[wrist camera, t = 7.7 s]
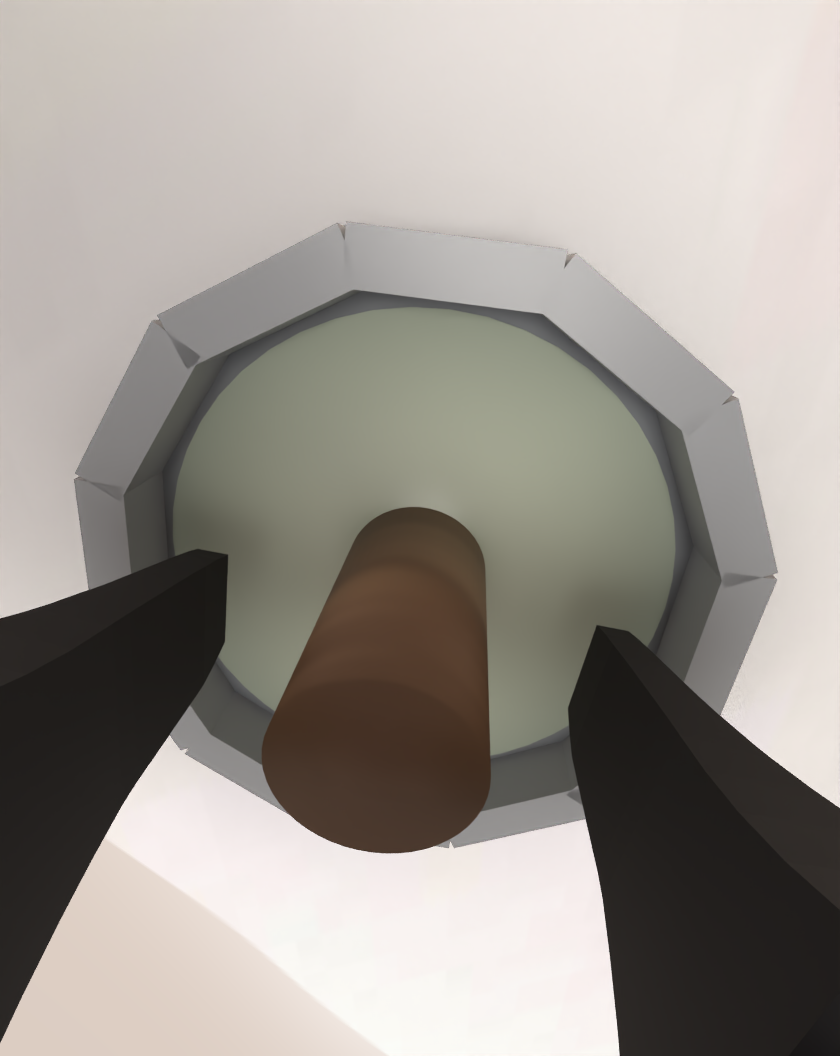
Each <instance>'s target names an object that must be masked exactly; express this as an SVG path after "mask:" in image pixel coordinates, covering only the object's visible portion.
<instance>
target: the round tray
mask: <svg viewBox="0 0 840 1056" xmlns="http://www.w3.org/2000/svg"><path fill="white" fill-rule="evenodd" d="M567 252H568V249H560V248H552V247H544V246H536V245H528V244H520V243H512V242H504V241H496V240H488V239H480V238H473V237H465V236H457V235H449V234H441V233H433V232H425V231H417V230H409V229H401V228H393V227H385V226H377V225H369V224H362V223H354V222H346V226H344V225H341V224H338V223H336V224H334V225H332V226H331V227H329V228H327V229H325V230H323V231H321V232H319V233H317V234H315V235H313V236H311V237H309V238H307V239H305V240H303V241H301V242H299V243H297V244H295V245H293V246H291V247H290V248H288V249H286V250H284V251H282V252H280V253H278V254H276V255H274V256H272V257H270V258H268V259H266V260H264V261H262V262H260V263H258V264H256V265H254V266H252V267H251V268H249V269H247V270H245V271H243V272H241V273H239V274H237V275H235V276H233V277H231V278H229V279H227V280H225V281H223V282H221V283H219V284H217V285H215V286H213V287H211V288H210V289H208V290H206V291H204V292H202V293H200V294H198V295H196V296H194V297H192V298H190V299H188V300H186V301H184V302H182V303H180V304H178V305H176V306H174V307H172V308H170V309H169V310H167V311H165V312H163V313H161V314H159V315H157V316H158V318H159V320H154V321H151V323H150V325H149V327H148V329H147V331H146V333H145V335H144V337H143V339H142V341H141V343H140V345H139V347H138V349H137V351H136V353H135V355H134V357H133V359H132V361H131V363H130V365H129V367H128V369H127V371H126V373H125V375H124V377H123V379H122V381H121V383H120V385H119V387H118V389H117V391H116V393H115V395H114V397H113V399H112V401H111V403H110V405H109V407H108V409H107V411H106V413H105V415H104V417H103V419H102V421H101V423H100V425H99V427H98V429H97V431H96V432H95V434H94V436H93V438H92V440H91V442H90V444H89V446H88V448H87V450H86V452H85V454H84V456H83V458H82V460H81V462H80V464H79V466H78V468H77V470H76V472H75V473H76V474H77V475H79V476H80V477H78V478H76V479H74V483H75V490H76V498H77V505H78V513H79V520H80V528H81V535H82V543H83V550H84V558H85V565H86V573H87V580H88V588H89V590H90V589H93V588H96V587H99V586H101V585H104V584H107V583H109V582H112V581H114V580H117V579H119V578H122V577H124V576H127V575H129V574H132V573H134V572H137V571H139V570H142V569H144V568H147V567H149V566H152V565H154V564H157V563H159V562H162V561H164V560H167V559H169V558H172V557H174V556H177V555H180V554H182V553H185V552H188V551H191V550H195V549H202V550H207V551H212V552H218V553H223V554H228V576H227V604H226V631H225V643H224V645H223V647H222V649H221V651H220V654H219V656H218V658H217V660H216V662H215V664H214V666H213V668H212V670H211V672H210V674H209V675H208V677H207V679H206V681H205V683H204V685H203V687H202V688H201V690H200V691H199V693H198V694H197V696H196V697H195V698H194V700H193V701H192V703H191V704H190V706H189V707H188V709H187V710H186V712H185V713H184V715H183V716H182V718H181V719H180V720H179V722H178V723H177V725H176V726H175V728H174V729H173V730H172V732H171V733H170V736H171V738H172V739H173V740H174V742H175V743H176V744H177V746H178V747H179V748H180V750H183V749H186V748H188V750H187V752H186V753H185V754H186V755H188V756H189V757H191V758H193V759H195V760H196V761H198V762H200V763H201V764H203V765H205V766H207V767H208V768H210V769H212V770H213V771H215V772H217V773H219V774H220V775H222V776H224V777H225V778H227V779H229V780H231V781H232V782H234V783H236V784H237V785H239V786H241V787H243V788H244V789H246V790H248V791H249V792H251V793H253V794H255V795H256V796H258V797H260V798H261V799H263V800H265V801H267V802H268V803H270V804H272V805H273V806H275V807H277V808H279V809H280V810H282V811H284V812H286V810H285V809H284V808H283V807H282V806H281V805H280V804H279V802H278V801H277V799H276V798H275V796H274V795H273V793H272V792H271V790H270V788H269V785H268V783H267V781H266V778H265V775H264V772H263V766H262V744H263V739H264V736H265V733H266V731H267V728H268V726H269V723H270V721H271V719H272V717H273V715H274V713H275V711H276V708H277V706H278V704H279V702H280V700H281V698H282V695H283V693H284V691H285V689H286V687H287V685H288V682H289V680H290V678H291V676H292V674H293V672H294V669H295V667H296V665H297V663H298V661H299V659H300V657H301V654H302V652H303V650H304V648H305V646H306V644H307V641H308V639H309V637H310V635H311V633H312V631H313V628H314V626H315V624H316V622H317V620H318V618H319V615H320V613H321V611H322V609H323V607H324V605H325V603H326V600H327V598H328V596H329V594H330V592H331V590H332V587H333V585H334V583H335V581H336V579H337V577H338V574H339V572H340V570H341V568H342V566H343V564H344V562H345V559H346V557H347V555H348V553H349V551H350V549H351V546H352V544H353V542H354V540H355V538H356V537H357V535H358V534H359V532H360V531H361V530H362V529H363V527H364V526H366V525H367V524H368V523H369V522H370V521H371V520H373V519H374V518H376V517H377V516H379V515H381V514H383V513H385V512H388V511H391V510H394V509H399V508H405V507H422V508H429V509H433V510H437V511H440V512H442V513H445V514H447V515H449V516H451V517H452V518H454V519H456V520H457V521H458V522H460V523H461V524H462V525H464V526H465V527H466V528H467V529H468V530H469V531H470V533H471V534H472V535H473V536H474V538H475V539H476V541H477V543H478V544H479V546H480V549H481V551H482V553H483V557H484V561H485V574H486V611H487V648H488V685H489V722H490V759H491V782H490V790H489V794H488V798H487V800H486V802H485V804H484V807H483V809H482V810H481V812H480V813H479V815H478V816H477V818H476V819H475V820H474V821H473V822H472V823H471V824H470V825H469V826H468V827H467V828H466V829H464V830H463V831H462V832H461V833H459V834H458V835H456V836H455V837H453V838H451V839H450V840H448V841H445V842H443V843H441V844H439V845H436V846H438V847H445V848H449V844H450V841H451V843H452V845H453V847H454V848H457V847H461V846H466V845H470V844H475V843H479V842H484V841H488V840H493V839H497V838H502V837H506V836H511V835H515V834H520V833H525V832H529V831H534V830H538V829H543V828H547V827H552V826H556V825H561V824H565V823H570V822H574V821H579V820H583V819H586V818H585V814H584V809H583V805H582V801H581V796H580V792H579V787H578V783H577V778H576V774H575V769H574V764H573V760H572V753H571V743H570V733H569V719H568V706H569V703H570V700H571V697H572V694H573V692H574V689H575V686H576V683H577V680H578V677H579V674H580V672H581V669H582V666H583V663H584V660H585V657H586V654H587V651H588V649H589V646H590V643H591V640H592V637H593V634H594V631H595V629H596V626H597V625H600V626H605V627H610V628H615V629H621V630H626V631H629V632H630V633H632V634H633V635H634V636H635V637H636V638H638V639H639V640H640V641H641V642H642V643H643V644H644V645H645V646H646V647H648V648H649V649H650V650H651V651H652V652H653V653H654V654H655V655H656V656H657V657H658V658H659V659H660V660H661V661H662V662H663V663H664V664H665V665H666V666H667V667H669V668H670V669H671V670H672V671H673V672H674V673H675V674H676V675H677V676H678V677H679V678H680V679H681V680H682V681H683V682H684V683H685V684H686V685H687V686H688V687H689V688H691V689H692V690H693V691H694V692H695V693H696V694H697V695H698V696H699V697H700V698H701V699H702V700H703V701H704V702H706V703H707V704H708V705H709V706H710V707H711V708H712V709H713V710H714V711H715V712H717V713H718V714H719V715H721V712H722V710H723V708H724V705H725V703H726V700H727V698H728V696H729V693H730V691H731V688H732V686H733V684H734V681H735V679H736V677H737V674H738V672H739V669H740V667H741V665H742V662H743V660H744V657H745V655H746V653H747V650H748V648H749V646H750V643H751V641H752V638H753V636H754V634H755V631H756V629H757V626H758V624H759V622H760V619H761V617H762V615H763V612H764V610H765V607H766V605H767V603H768V600H769V598H770V596H771V593H772V591H773V588H774V586H775V584H776V581H777V579H776V578H775V577H774V576H773V575H772V574H776V573H778V571H777V567H776V562H775V558H774V553H773V549H772V545H771V540H770V536H769V531H768V527H767V522H766V518H765V514H764V509H763V505H762V500H761V496H760V491H759V487H758V483H757V478H756V474H755V469H754V465H753V460H752V456H751V452H750V447H749V443H748V438H747V434H746V430H745V425H744V421H743V416H742V412H741V407H740V403H739V399H738V398H736V397H734V396H732V394H733V393H734V391H733V390H732V389H731V388H729V387H728V386H727V385H726V384H725V383H724V382H723V381H721V380H720V379H719V378H718V377H717V376H716V375H715V374H713V373H712V372H711V371H710V370H709V369H708V368H707V367H705V366H704V365H703V364H702V363H701V362H700V361H699V360H697V359H696V358H695V357H694V356H693V355H692V354H691V353H690V352H688V351H687V350H686V349H685V348H684V347H683V346H682V345H680V344H679V343H678V342H677V341H676V340H675V339H674V338H672V337H671V336H670V335H669V334H668V333H667V332H666V331H664V330H663V329H662V328H661V327H660V326H659V325H658V324H656V323H655V322H654V321H653V320H652V319H651V318H650V317H648V316H647V315H646V314H645V313H644V312H643V311H642V310H640V309H639V308H638V307H637V306H636V305H635V304H634V303H632V302H631V301H630V300H629V299H628V298H627V297H626V296H624V295H623V294H622V293H621V292H620V291H619V290H618V289H616V288H615V287H614V286H613V285H612V284H611V283H610V282H608V281H607V280H606V279H605V278H604V277H603V276H602V275H600V274H599V273H598V272H597V271H596V270H595V269H594V268H592V267H591V266H590V265H589V264H588V263H587V262H586V261H584V260H583V259H582V258H581V257H580V256H579V255H578V254H576V253H575V254H570V255H567ZM286 813H287V812H286ZM287 814H288V813H287ZM289 815H290V814H289Z"/></svg>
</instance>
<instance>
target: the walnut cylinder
mask: <svg viewBox="0 0 840 1056" xmlns="http://www.w3.org/2000/svg"><path fill="white" fill-rule="evenodd" d="M262 766H263V772H264V775H265V778H266V781H267V783H268V785H269V788H270V790H271V792H272V793H273V795H274V796H275V798H276V799H277V801H278V802H279V804H280V805H281V806H282V807H283V808H284V809H285V810H286V812H287V813H288V814H290V815H291V816H292V817H293V818H294V819H295V820H296V821H297V822H299V823H300V824H301V825H303V826H304V827H305V828H307V829H308V830H310V831H312V832H313V833H315V834H317V835H318V836H321V837H323V838H325V839H327V840H329V841H331V842H334V843H337V844H339V845H342V846H345V847H349V848H353V849H356V850H362V851H367V852H375V853H405V852H413V851H418V850H423V849H427V848H430V847H433V846H436V845H439V844H441V843H443V842H445V841H448V840H450V839H451V838H453V837H455V836H456V835H458V834H459V833H461V832H462V831H463V830H464V829H466V828H467V827H468V826H469V825H470V824H471V823H472V822H473V821H474V820H475V819H476V818H477V816H478V815H479V813H480V812H481V810H482V809H483V807H484V804H485V802H486V800H487V798H488V794H489V790H490V782H491V759H490V722H489V685H488V648H487V611H486V574H485V561H484V557H483V553H482V551H481V549H480V546H479V544H478V543H477V541H476V539H475V538H474V536H473V535H472V534H471V533H470V531H469V530H468V529H467V528H466V527H465V526H464V525H462V524H461V523H460V522H458V521H457V520H456V519H454V518H452V517H451V516H449V515H447V514H445V513H442V512H440V511H437V510H433V509H429V508H422V507H405V508H399V509H394V510H391V511H388V512H385V513H383V514H381V515H379V516H377V517H376V518H374V519H373V520H371V521H370V522H369V523H368V524H367V525H366V526H364V527H363V529H362V530H361V531H360V532H359V534H358V535H357V537H356V538H355V540H354V542H353V544H352V546H351V549H350V551H349V553H348V555H347V557H346V559H345V562H344V564H343V566H342V568H341V570H340V572H339V574H338V577H337V579H336V581H335V583H334V585H333V587H332V590H331V592H330V594H329V596H328V598H327V600H326V603H325V605H324V607H323V609H322V611H321V613H320V615H319V618H318V620H317V622H316V624H315V626H314V628H313V631H312V633H311V635H310V637H309V639H308V641H307V644H306V646H305V648H304V650H303V652H302V654H301V657H300V659H299V661H298V663H297V665H296V667H295V669H294V672H293V674H292V676H291V678H290V680H289V682H288V685H287V687H286V689H285V691H284V693H283V695H282V698H281V700H280V702H279V704H278V706H277V708H276V711H275V713H274V715H273V717H272V719H271V721H270V723H269V726H268V728H267V731H266V733H265V736H264V739H263V744H262Z"/></svg>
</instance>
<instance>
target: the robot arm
mask: <svg viewBox="0 0 840 1056" xmlns="http://www.w3.org/2000/svg"><path fill="white" fill-rule="evenodd" d="M227 576H228V554H223V553H218V552H212V551H207V550H202V549H195V550H191V551H188V552H185V553H182V554H180V555H177V556H174V557H172V558H169V559H167V560H164V561H162V562H159V563H157V564H154V565H152V566H149V567H147V568H144V569H142V570H139V571H137V572H134V573H132V574H129V575H127V576H124V577H122V578H119V579H117V580H114V581H112V582H109V583H107V584H104V585H101V586H99V587H96V588H93V589H90V590H87V591H85V592H82V593H79V594H76V595H73V596H71V597H68V598H65V599H62V600H59V601H57V602H54V603H51V604H48V605H45V606H42V607H39V608H35V609H32V610H29V611H25V612H22V613H19V614H15V615H12V616H8V617H4V618H1V619H0V1042H1V1040H2V1038H3V1036H4V1034H5V1032H6V1029H7V1027H8V1025H9V1023H10V1021H11V1019H12V1017H13V1015H14V1012H15V1010H16V1008H17V1006H18V1004H19V1002H20V1000H21V998H22V995H23V993H24V991H25V989H26V987H27V985H28V983H29V981H30V979H31V977H32V975H33V973H34V971H35V969H36V967H37V965H38V963H39V961H40V959H41V957H42V955H43V953H44V951H45V949H46V947H47V945H48V943H49V941H50V939H51V937H52V935H53V933H54V931H55V929H56V927H57V925H58V923H59V921H60V919H61V917H62V915H63V913H64V912H65V910H66V908H67V906H68V904H69V902H70V900H71V898H72V896H73V894H74V893H75V891H76V889H77V887H78V885H79V883H80V881H81V879H82V877H83V876H84V874H85V872H86V870H87V868H88V866H89V864H90V862H91V860H92V859H93V857H94V855H95V853H96V851H97V849H98V848H99V846H100V844H101V842H102V840H103V839H104V837H105V835H106V833H107V831H108V830H109V828H110V826H111V824H112V822H113V821H114V819H115V817H116V815H117V813H118V812H119V810H120V808H121V806H122V805H123V803H124V801H125V800H126V798H127V797H128V795H129V793H130V792H131V790H132V789H133V787H134V786H135V784H136V782H137V781H138V779H139V778H140V777H141V775H142V774H143V772H144V771H145V769H146V768H147V766H148V765H149V764H150V762H151V761H152V759H153V758H154V756H155V755H156V754H157V752H158V751H159V749H160V748H161V746H162V745H163V743H164V742H165V741H166V739H167V738H168V736H169V735H170V733H171V732H172V730H173V729H174V728H175V726H176V725H177V723H178V722H179V720H180V719H181V718H182V716H183V715H184V713H185V712H186V710H187V709H188V707H189V706H190V704H191V703H192V701H193V700H194V698H195V697H196V696H197V694H198V693H199V691H200V690H201V688H202V687H203V685H204V683H205V681H206V679H207V677H208V675H209V674H210V672H211V670H212V668H213V666H214V664H215V662H216V660H217V658H218V656H219V654H220V651H221V649H222V647H223V645H224V643H225V631H226V604H227ZM568 719H569V733H570V743H571V753H572V760H573V764H574V769H575V774H576V778H577V783H578V787H579V792H580V796H581V801H582V805H583V809H584V814H585V818H586V823H587V827H588V831H589V836H590V840H591V844H592V849H593V853H594V857H595V862H596V866H597V871H598V876H599V881H600V887H601V892H602V897H603V904H604V912H605V920H606V928H607V936H608V944H609V952H610V960H611V970H612V980H613V989H614V999H615V1008H616V1018H617V1027H618V1039H619V1051H620V1056H840V808H839V807H837V806H836V805H834V804H833V803H831V802H830V801H829V800H827V799H826V798H824V797H823V796H821V795H820V794H819V793H817V792H816V791H814V790H813V789H811V788H810V787H809V786H807V785H806V784H805V783H803V782H802V781H801V780H799V779H798V778H797V777H795V776H794V775H793V774H791V773H790V772H789V771H787V770H786V769H785V768H783V767H782V766H781V765H779V764H778V763H777V762H775V761H774V760H773V759H771V758H770V757H769V756H768V755H766V754H765V753H764V752H763V751H761V750H760V749H759V748H757V747H756V746H755V745H754V744H753V743H751V742H750V741H749V740H748V739H747V738H746V737H744V736H743V735H742V734H741V733H740V732H739V731H737V730H736V729H735V728H734V727H733V726H731V725H730V724H729V723H728V722H727V721H726V720H724V719H723V718H722V717H721V716H720V715H719V714H718V713H717V712H715V711H714V710H713V709H712V708H711V707H710V706H709V705H708V704H707V703H706V702H704V701H703V700H702V699H701V698H700V697H699V696H698V695H697V694H696V693H695V692H694V691H693V690H692V689H691V688H689V687H688V686H687V685H686V684H685V683H684V682H683V681H682V680H681V679H680V678H679V677H678V676H677V675H676V674H675V673H674V672H673V671H672V670H671V669H670V668H669V667H667V666H666V665H665V664H664V663H663V662H662V661H661V660H660V659H659V658H658V657H657V656H656V655H655V654H654V653H653V652H652V651H651V650H650V649H649V648H648V647H646V646H645V645H644V644H643V643H642V642H641V641H640V640H639V639H638V638H636V637H635V636H634V635H633V634H632V633H630V632H629V631H626V630H621V629H615V628H610V627H605V626H600V625H597V626H596V629H595V631H594V634H593V637H592V640H591V643H590V646H589V649H588V651H587V654H586V657H585V660H584V663H583V666H582V669H581V672H580V674H579V677H578V680H577V683H576V686H575V689H574V692H573V694H572V697H571V700H570V703H569V706H568Z"/></svg>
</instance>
